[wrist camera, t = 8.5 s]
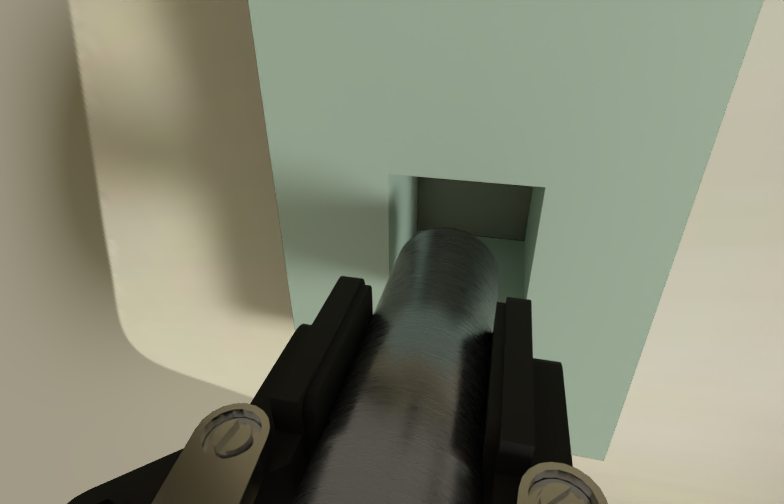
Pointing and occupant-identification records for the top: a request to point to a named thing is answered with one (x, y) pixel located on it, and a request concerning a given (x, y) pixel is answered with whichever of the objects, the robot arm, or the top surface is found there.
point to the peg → (415, 384)
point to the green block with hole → (504, 152)
